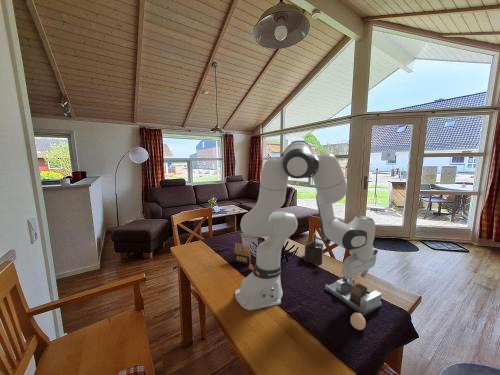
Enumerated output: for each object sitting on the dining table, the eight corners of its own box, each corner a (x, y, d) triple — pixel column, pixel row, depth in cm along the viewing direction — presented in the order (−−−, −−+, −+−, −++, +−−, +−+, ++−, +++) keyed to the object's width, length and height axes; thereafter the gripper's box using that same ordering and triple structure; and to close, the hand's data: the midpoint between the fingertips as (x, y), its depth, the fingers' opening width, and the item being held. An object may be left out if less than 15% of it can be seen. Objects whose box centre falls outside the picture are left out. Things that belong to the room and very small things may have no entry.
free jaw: (340, 293, 96) (341, 281, 95) (335, 290, 98) (336, 279, 97) (353, 288, 100) (354, 276, 100) (348, 285, 103) (349, 274, 102)
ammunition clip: (250, 263, 126) (251, 244, 124) (249, 265, 124) (249, 245, 123) (235, 259, 131) (235, 241, 129) (233, 261, 129) (233, 242, 127)
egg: (351, 320, 83) (353, 307, 82) (366, 327, 80) (367, 313, 79) (348, 328, 79) (349, 314, 78) (363, 336, 76) (364, 321, 75)
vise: (363, 316, 85) (365, 302, 84) (324, 289, 102) (325, 276, 101) (381, 306, 90) (382, 293, 90) (341, 282, 108) (342, 270, 107)
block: (359, 303, 90) (360, 290, 89) (350, 297, 94) (351, 285, 93) (366, 300, 92) (367, 287, 91) (356, 294, 96) (357, 282, 95)
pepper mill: (303, 261, 129) (305, 233, 126) (305, 254, 139) (307, 228, 137) (330, 267, 123) (332, 237, 121) (331, 258, 133) (332, 231, 131)
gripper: (353, 260, 84) (350, 292, 87) (380, 249, 95) (376, 277, 97) (339, 254, 89) (336, 283, 92) (366, 243, 100) (363, 270, 102)
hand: (357, 280), depth 95 cm, fingers open, 8 cm apart
